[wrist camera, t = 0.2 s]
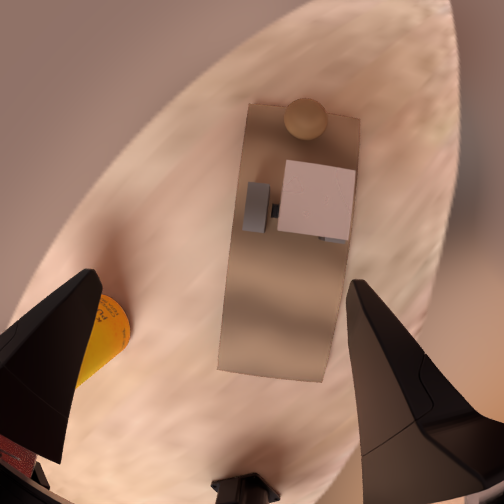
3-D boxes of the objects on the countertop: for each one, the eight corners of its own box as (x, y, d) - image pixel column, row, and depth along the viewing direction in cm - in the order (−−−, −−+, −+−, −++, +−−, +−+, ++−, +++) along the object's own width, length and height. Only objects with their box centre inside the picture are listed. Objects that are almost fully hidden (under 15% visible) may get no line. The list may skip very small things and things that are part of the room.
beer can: (129, 292, 25) (8, 351, 10) (138, 353, 25) (43, 442, 10) (80, 291, 25) (-36, 334, 10) (90, 347, 26) (-8, 413, 11)
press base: (319, 374, 24) (327, 402, 19) (220, 361, 25) (209, 388, 20) (355, 124, 22) (371, 103, 17) (250, 109, 23) (244, 84, 18)
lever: (316, 233, 21) (361, 242, 9) (269, 227, 21) (262, 228, 10) (320, 200, 21) (369, 173, 9) (273, 194, 21) (271, 157, 9)
